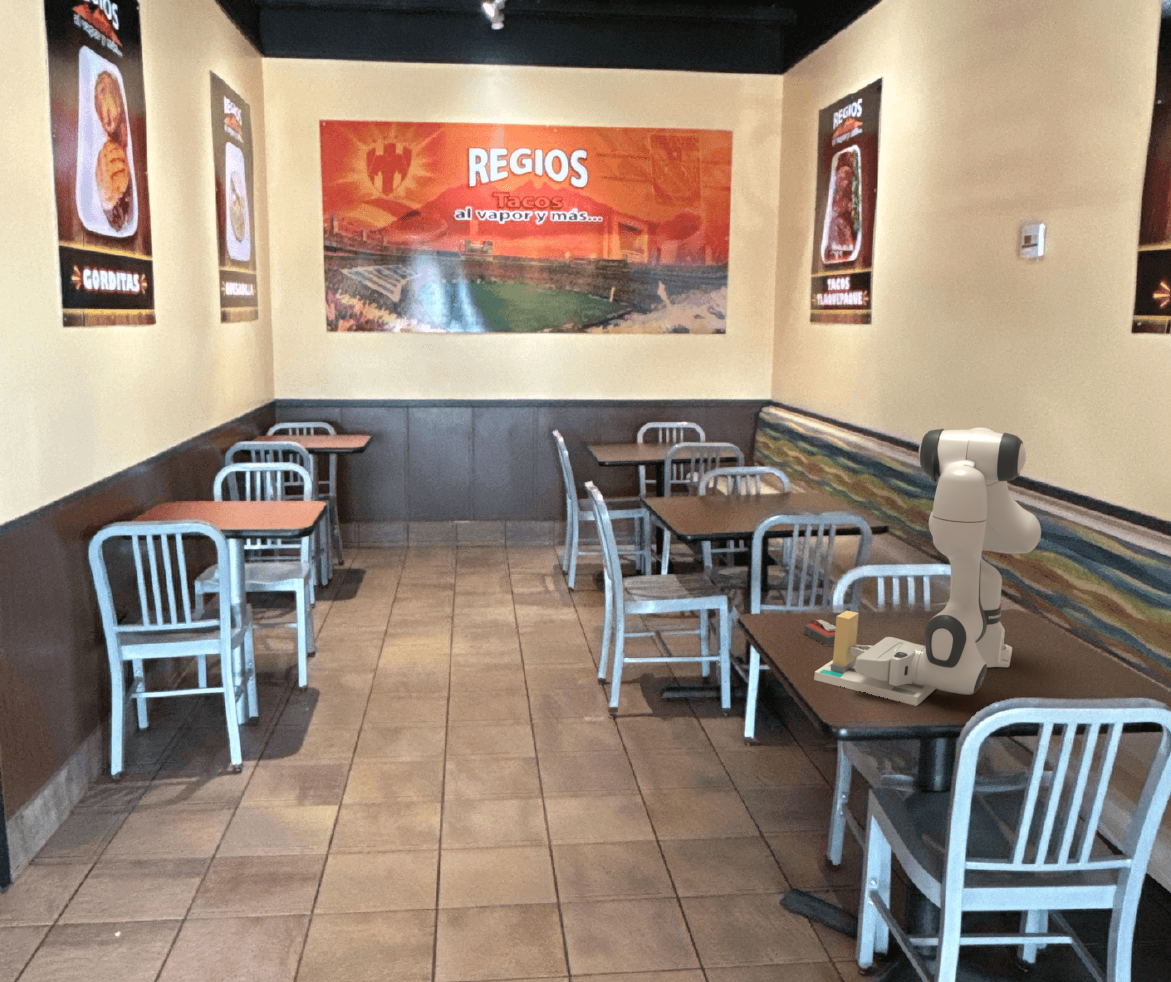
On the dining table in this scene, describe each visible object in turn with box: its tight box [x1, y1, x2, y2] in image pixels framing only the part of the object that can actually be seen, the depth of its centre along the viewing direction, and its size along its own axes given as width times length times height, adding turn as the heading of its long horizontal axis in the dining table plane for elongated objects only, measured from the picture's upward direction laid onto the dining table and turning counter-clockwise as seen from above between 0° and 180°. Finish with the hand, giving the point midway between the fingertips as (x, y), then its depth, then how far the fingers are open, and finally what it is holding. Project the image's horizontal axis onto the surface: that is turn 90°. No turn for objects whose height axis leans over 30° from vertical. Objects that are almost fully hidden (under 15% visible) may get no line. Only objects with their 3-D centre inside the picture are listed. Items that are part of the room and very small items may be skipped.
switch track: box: [813, 659, 937, 707], centre depth 240 cm, size 14×24×2 cm, turn 54°
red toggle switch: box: [803, 617, 836, 647], centre depth 275 cm, size 9×4×20 cm
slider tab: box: [831, 610, 860, 673], centre depth 243 cm, size 8×3×13 cm, turn 144°
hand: (851, 649), depth 243 cm, fingers closed, pressing on slider tab
